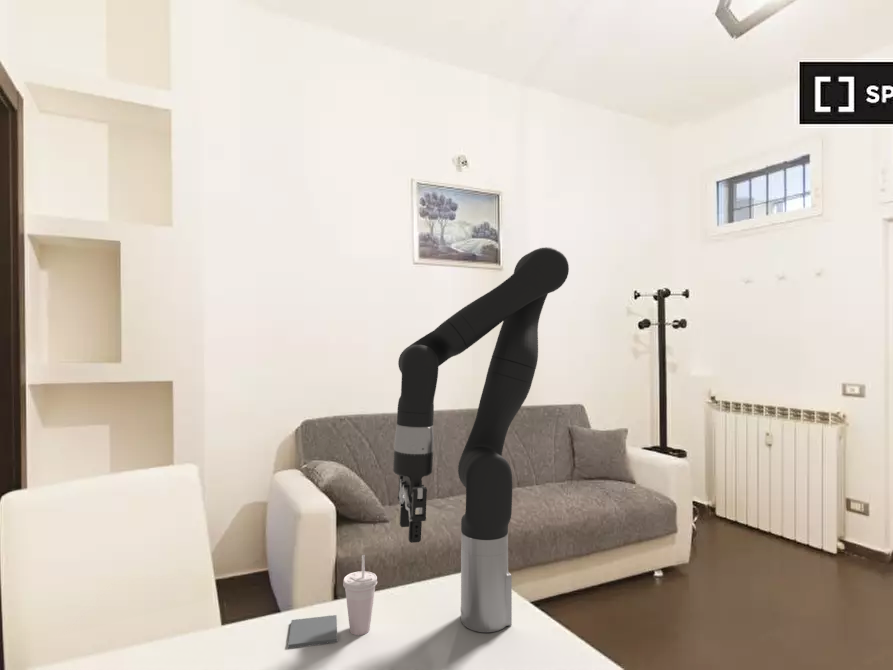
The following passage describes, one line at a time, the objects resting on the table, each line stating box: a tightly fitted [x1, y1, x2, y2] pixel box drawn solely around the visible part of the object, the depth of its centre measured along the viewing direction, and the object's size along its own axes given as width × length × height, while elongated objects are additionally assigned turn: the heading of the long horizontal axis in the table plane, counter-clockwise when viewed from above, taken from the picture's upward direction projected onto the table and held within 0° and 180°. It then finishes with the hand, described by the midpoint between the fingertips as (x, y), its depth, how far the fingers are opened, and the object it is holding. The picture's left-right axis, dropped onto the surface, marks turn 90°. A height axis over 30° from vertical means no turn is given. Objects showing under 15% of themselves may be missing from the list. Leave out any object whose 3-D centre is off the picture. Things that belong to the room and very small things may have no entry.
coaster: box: [287, 614, 338, 649], centre depth 96 cm, size 8×8×1 cm
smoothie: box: [342, 554, 378, 636], centre depth 97 cm, size 6×6×14 cm
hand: (409, 533), depth 98 cm, fingers open, 8 cm apart
